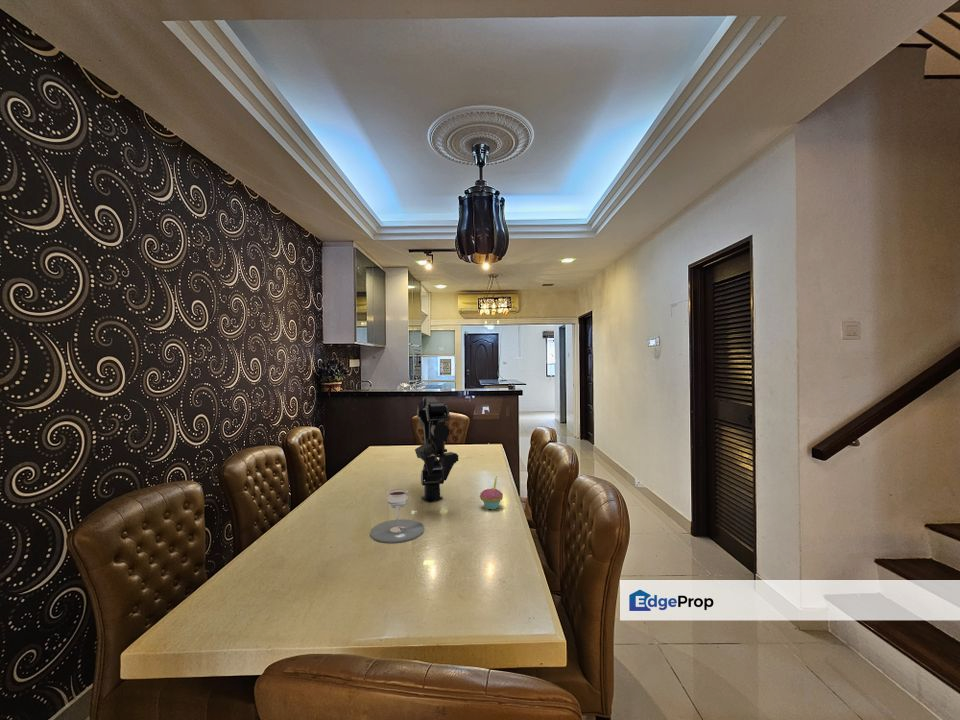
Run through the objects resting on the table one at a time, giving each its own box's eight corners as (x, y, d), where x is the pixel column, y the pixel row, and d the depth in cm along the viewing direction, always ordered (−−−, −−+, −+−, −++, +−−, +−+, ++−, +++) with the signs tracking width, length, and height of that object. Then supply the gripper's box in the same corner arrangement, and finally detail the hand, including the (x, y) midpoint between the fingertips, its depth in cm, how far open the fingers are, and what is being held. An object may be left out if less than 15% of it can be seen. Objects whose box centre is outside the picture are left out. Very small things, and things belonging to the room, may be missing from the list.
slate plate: (361, 531, 136) (361, 528, 136) (406, 517, 147) (406, 515, 147) (387, 548, 123) (387, 545, 123) (434, 532, 134) (434, 529, 134)
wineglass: (396, 535, 130) (396, 496, 130) (382, 530, 134) (382, 492, 134) (412, 528, 136) (412, 491, 136) (398, 523, 140) (398, 487, 140)
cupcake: (503, 504, 160) (503, 473, 160) (502, 512, 151) (502, 479, 151) (481, 504, 160) (480, 472, 161) (478, 512, 152) (478, 479, 152)
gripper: (404, 435, 156) (404, 477, 156) (433, 442, 142) (434, 487, 142) (429, 431, 163) (429, 471, 163) (459, 437, 149) (459, 481, 149)
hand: (437, 477), depth 154 cm, fingers open, 9 cm apart
